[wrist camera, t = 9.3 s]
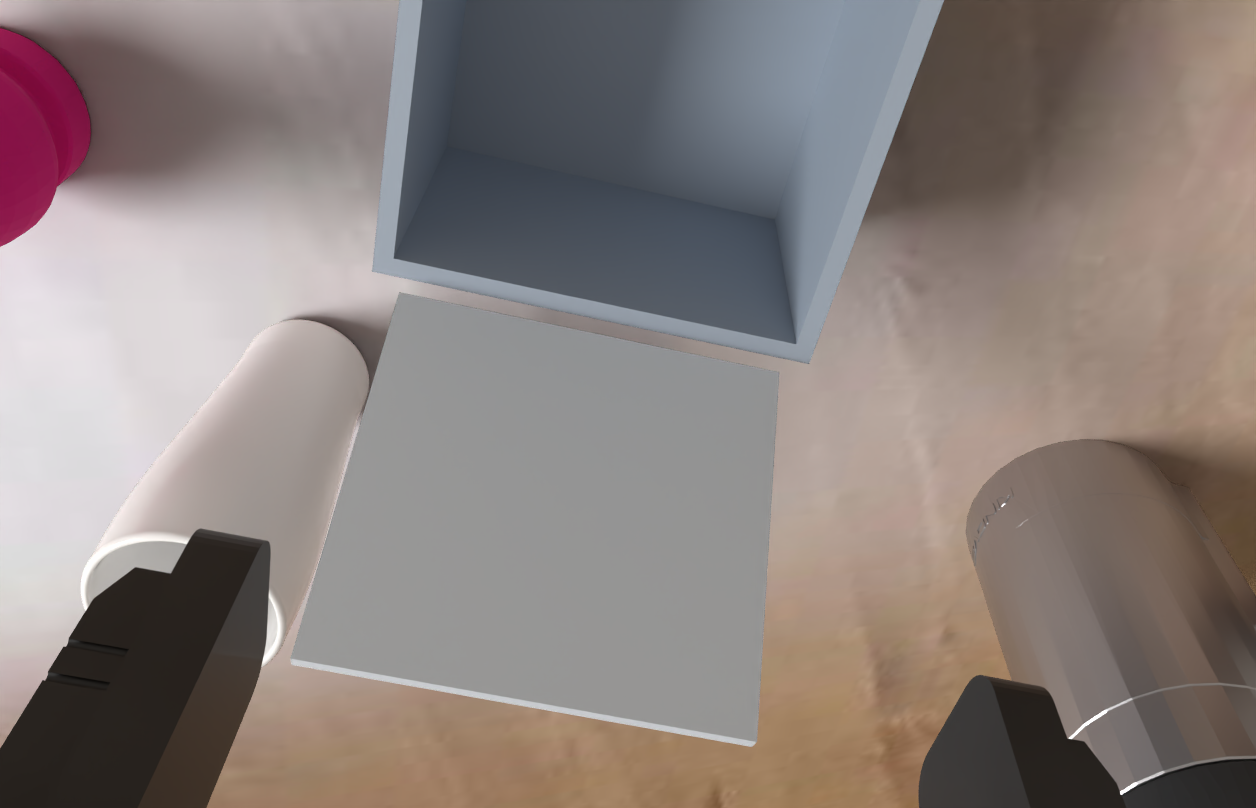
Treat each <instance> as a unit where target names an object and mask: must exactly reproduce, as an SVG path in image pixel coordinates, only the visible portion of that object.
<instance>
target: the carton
mask: <svg viewBox="0 0 1256 808" xmlns="http://www.w3.org/2000/svg"><path fill="white" fill-rule="evenodd" d="M943 2H944V0H400V1H399V11H398V21H397V31H396V41H395V50H394V60H393V70H392V80H391V90H390V100H389V110H388V120H387V130H386V140H385V150H384V160H383V169H382V179H381V189H380V199H379V209H378V219H377V229H376V239H375V249H374V259H373V269H372V272H377V273H381V274H386V275H391V276H396V277H400V278H405V279H410V280H414V281H419V282H424V283H429V284H433V285H438V286H443V287H448V288H452V289H457V290H462V291H466V292H471V293H476V294H481V295H485V296H490V297H495V298H500V299H504V300H509V301H514V302H518V303H523V304H528V305H533V306H537V307H542V308H547V309H552V310H556V311H561V312H566V313H570V314H575V315H580V316H585V317H589V318H594V319H599V320H603V321H608V322H613V323H618V324H622V325H627V326H632V327H637V328H641V329H646V330H651V331H655V332H660V333H665V334H670V335H674V336H679V337H684V338H689V339H693V340H698V341H703V342H707V343H712V344H717V345H722V346H726V347H731V348H736V349H740V350H745V351H750V352H755V353H759V354H764V355H769V356H774V357H778V358H783V359H788V360H792V361H797V362H802V363H807V364H809V362H810V360H811V357H812V354H813V352H814V349H815V346H816V344H817V341H818V338H819V335H820V333H821V330H822V327H823V325H824V322H825V319H826V317H827V314H828V311H829V309H830V306H831V303H832V300H833V298H834V295H835V292H836V290H837V287H838V284H839V282H840V279H841V276H842V274H843V271H844V268H845V266H846V263H847V260H848V257H849V255H850V252H851V249H852V247H853V244H854V241H855V239H856V236H857V233H858V231H859V228H860V225H861V222H862V220H863V217H864V214H865V212H866V209H867V206H868V204H869V201H870V198H871V196H872V193H873V190H874V187H875V185H876V182H877V179H878V177H879V174H880V171H881V169H882V166H883V163H884V161H885V158H886V155H887V153H888V150H889V147H890V144H891V142H892V139H893V136H894V134H895V131H896V128H897V126H898V123H899V120H900V118H901V115H902V112H903V109H904V107H905V104H906V101H907V99H908V96H909V93H910V91H911V88H912V85H913V83H914V80H915V77H916V74H917V72H918V69H919V66H920V64H921V61H922V58H923V56H924V53H925V50H926V48H927V45H928V42H929V39H930V37H931V34H932V31H933V29H934V26H935V23H936V21H937V18H938V15H939V13H940V10H941V7H942V5H943Z"/></svg>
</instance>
